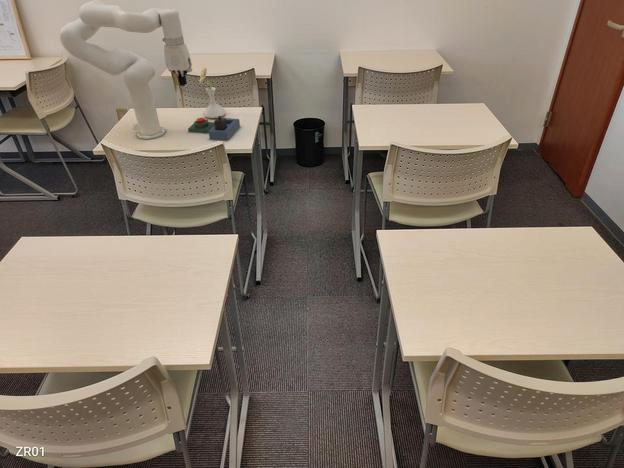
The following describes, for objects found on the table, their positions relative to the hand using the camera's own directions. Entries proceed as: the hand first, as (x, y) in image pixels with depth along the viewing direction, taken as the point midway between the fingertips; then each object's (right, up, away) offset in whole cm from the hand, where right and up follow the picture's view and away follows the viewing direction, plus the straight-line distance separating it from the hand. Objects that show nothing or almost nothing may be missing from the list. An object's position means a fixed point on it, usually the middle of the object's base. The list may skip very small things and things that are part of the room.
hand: (183, 84), depth 212 cm
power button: (+4, -13, +16) cm, 21 cm away
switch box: (+4, -15, +18) cm, 24 cm away
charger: (+15, -21, +10) cm, 28 cm away
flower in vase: (+8, -7, +30) cm, 31 cm away
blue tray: (+16, -19, +13) cm, 28 cm away
